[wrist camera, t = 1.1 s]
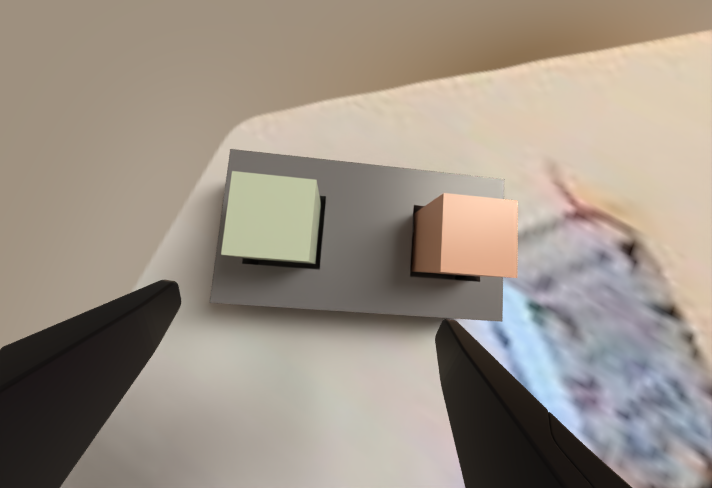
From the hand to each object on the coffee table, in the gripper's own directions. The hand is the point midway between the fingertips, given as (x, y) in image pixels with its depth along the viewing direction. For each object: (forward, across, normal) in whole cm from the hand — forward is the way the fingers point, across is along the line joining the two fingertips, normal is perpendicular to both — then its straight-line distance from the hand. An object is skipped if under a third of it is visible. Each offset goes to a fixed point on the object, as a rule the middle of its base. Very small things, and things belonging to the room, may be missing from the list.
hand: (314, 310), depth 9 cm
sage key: (+11, +3, +3) cm, 12 cm away
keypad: (+14, -3, +5) cm, 15 cm away
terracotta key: (+11, -9, +2) cm, 14 cm away
